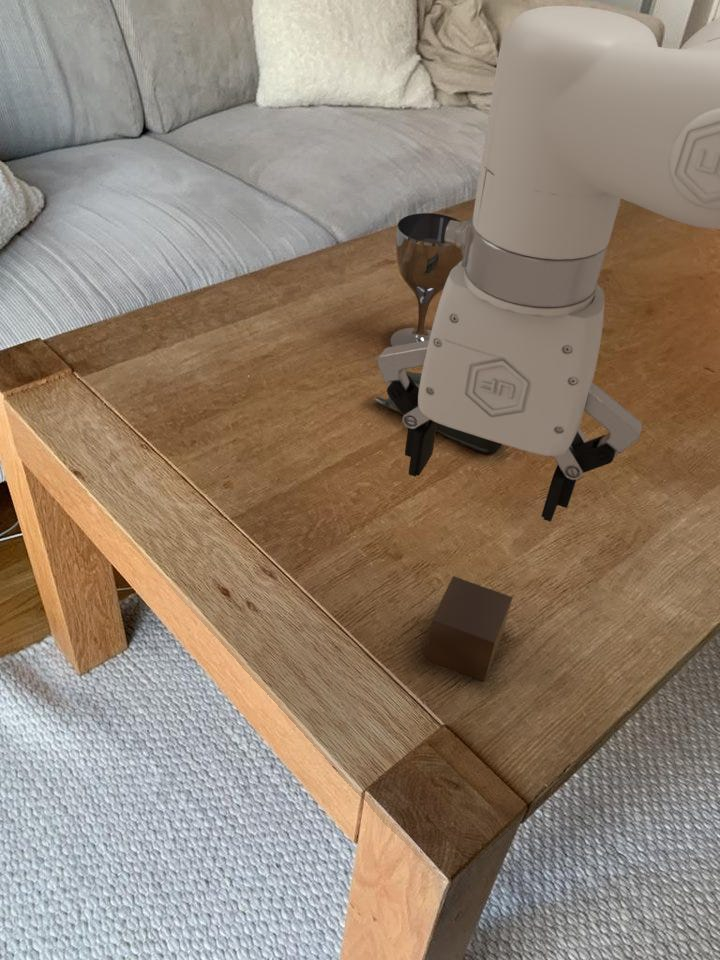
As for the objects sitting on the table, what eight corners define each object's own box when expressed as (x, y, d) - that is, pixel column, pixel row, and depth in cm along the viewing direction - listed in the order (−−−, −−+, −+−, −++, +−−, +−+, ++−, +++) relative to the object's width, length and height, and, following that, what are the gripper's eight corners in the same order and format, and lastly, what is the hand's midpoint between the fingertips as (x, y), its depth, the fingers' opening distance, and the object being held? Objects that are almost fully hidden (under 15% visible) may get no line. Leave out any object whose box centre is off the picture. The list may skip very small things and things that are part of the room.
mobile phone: (513, 409, 84) (389, 356, 89) (500, 424, 82) (375, 368, 87) (503, 447, 87) (385, 393, 93) (491, 461, 85) (370, 406, 91)
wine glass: (448, 364, 98) (465, 247, 88) (382, 355, 99) (393, 238, 89) (453, 330, 104) (470, 217, 94) (391, 322, 105) (401, 209, 95)
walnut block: (502, 636, 68) (512, 596, 65) (484, 682, 64) (494, 642, 61) (445, 615, 69) (452, 575, 66) (424, 659, 66) (432, 619, 62)
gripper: (366, 250, 46) (350, 479, 57) (680, 331, 41) (594, 562, 53) (414, 204, 51) (391, 421, 62) (697, 271, 47) (616, 493, 58)
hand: (484, 486), depth 57 cm, fingers open, 9 cm apart
